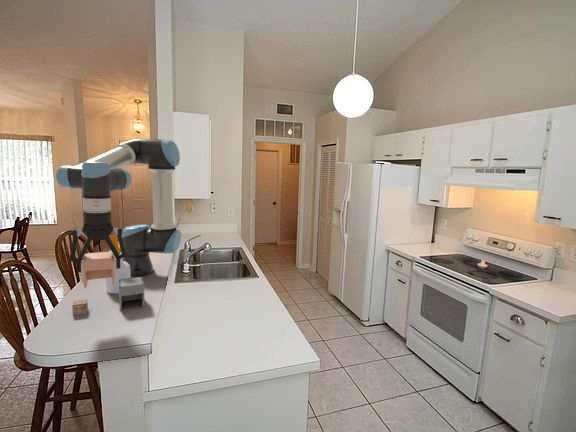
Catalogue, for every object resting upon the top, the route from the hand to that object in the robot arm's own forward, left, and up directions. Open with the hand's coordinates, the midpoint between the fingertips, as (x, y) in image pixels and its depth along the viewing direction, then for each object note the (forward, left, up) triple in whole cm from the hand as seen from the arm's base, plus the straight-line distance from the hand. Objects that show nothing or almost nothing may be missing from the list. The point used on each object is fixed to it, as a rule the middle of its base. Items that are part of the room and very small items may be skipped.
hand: (99, 279), depth 100 cm
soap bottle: (-25, -14, -15) cm, 33 cm away
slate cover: (-15, 0, -15) cm, 21 cm away
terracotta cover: (0, 0, -1) cm, 1 cm away
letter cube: (-4, -12, -15) cm, 20 cm away
